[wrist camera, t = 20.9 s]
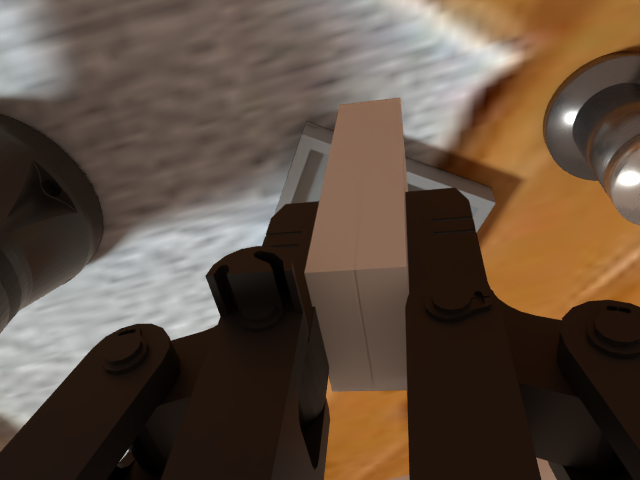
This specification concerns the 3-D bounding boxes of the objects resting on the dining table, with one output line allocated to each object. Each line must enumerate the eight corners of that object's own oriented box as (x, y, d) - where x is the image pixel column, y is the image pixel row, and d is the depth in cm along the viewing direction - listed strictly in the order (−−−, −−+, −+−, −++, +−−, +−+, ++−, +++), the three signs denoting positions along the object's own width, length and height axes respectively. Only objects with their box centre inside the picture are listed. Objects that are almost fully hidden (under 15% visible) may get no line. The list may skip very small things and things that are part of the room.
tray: (410, 316, 45) (411, 334, 43) (256, 267, 43) (251, 283, 42) (491, 187, 37) (495, 202, 35) (306, 121, 35) (302, 134, 34)
